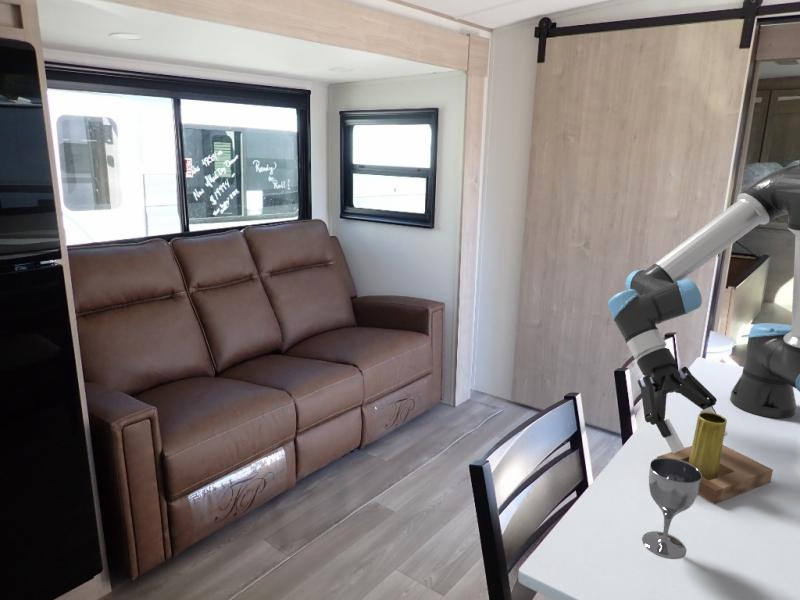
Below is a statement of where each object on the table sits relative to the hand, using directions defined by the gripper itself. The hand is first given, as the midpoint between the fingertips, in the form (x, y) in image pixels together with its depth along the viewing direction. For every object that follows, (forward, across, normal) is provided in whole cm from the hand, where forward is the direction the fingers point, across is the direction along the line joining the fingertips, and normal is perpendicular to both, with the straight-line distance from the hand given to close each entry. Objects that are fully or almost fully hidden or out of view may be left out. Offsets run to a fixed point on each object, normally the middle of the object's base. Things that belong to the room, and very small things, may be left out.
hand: (700, 444), depth 121 cm
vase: (+6, 0, -4) cm, 8 cm away
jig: (+6, -3, -4) cm, 8 cm away
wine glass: (+14, +25, +3) cm, 29 cm away
